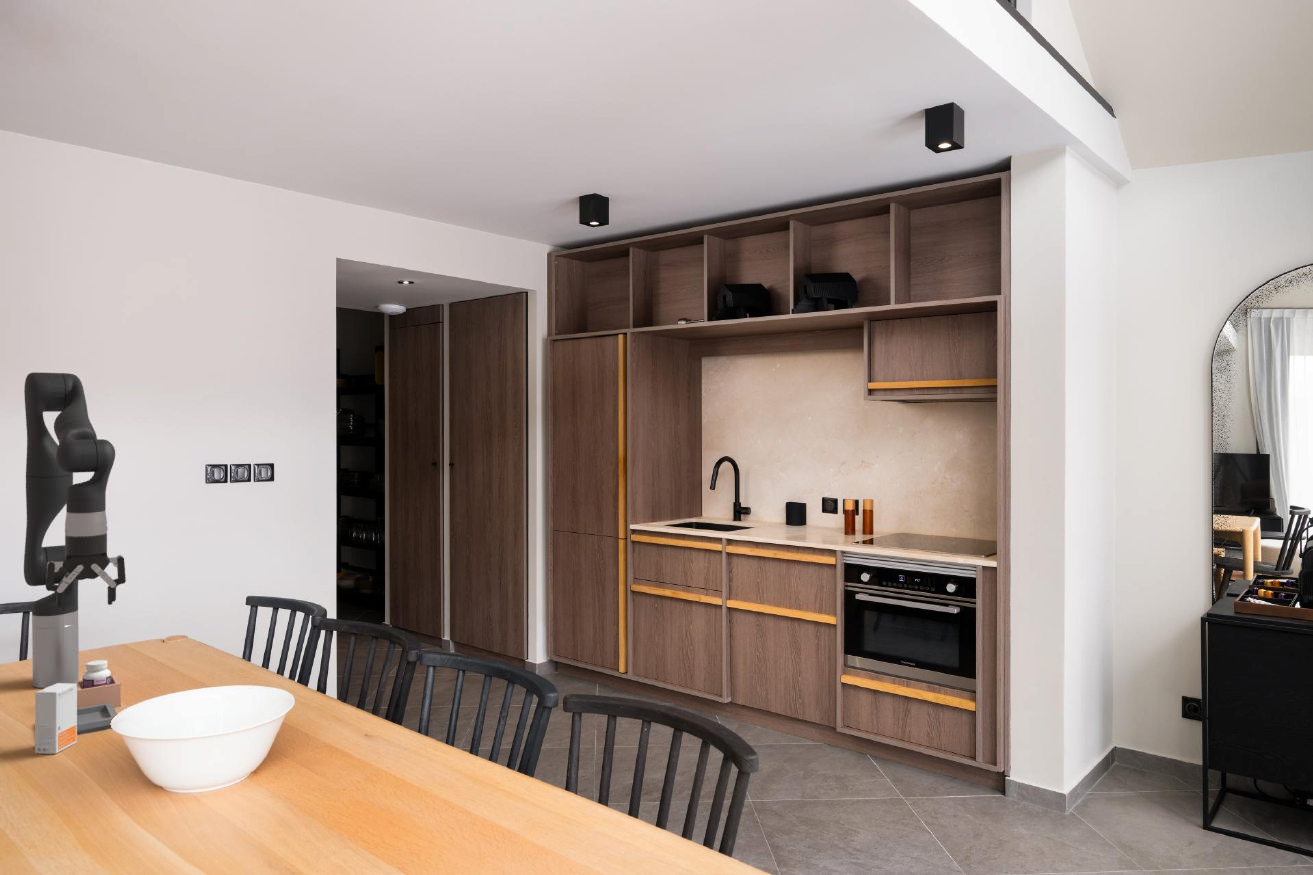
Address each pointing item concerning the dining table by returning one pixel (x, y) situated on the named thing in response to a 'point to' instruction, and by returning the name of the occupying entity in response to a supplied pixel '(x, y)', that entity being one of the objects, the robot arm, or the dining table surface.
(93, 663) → the pill bottle
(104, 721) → the charcoal tray
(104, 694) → the open beige tray box
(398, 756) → the dining table surface
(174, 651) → the dining table surface
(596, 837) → the dining table surface
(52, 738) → the skincare box
